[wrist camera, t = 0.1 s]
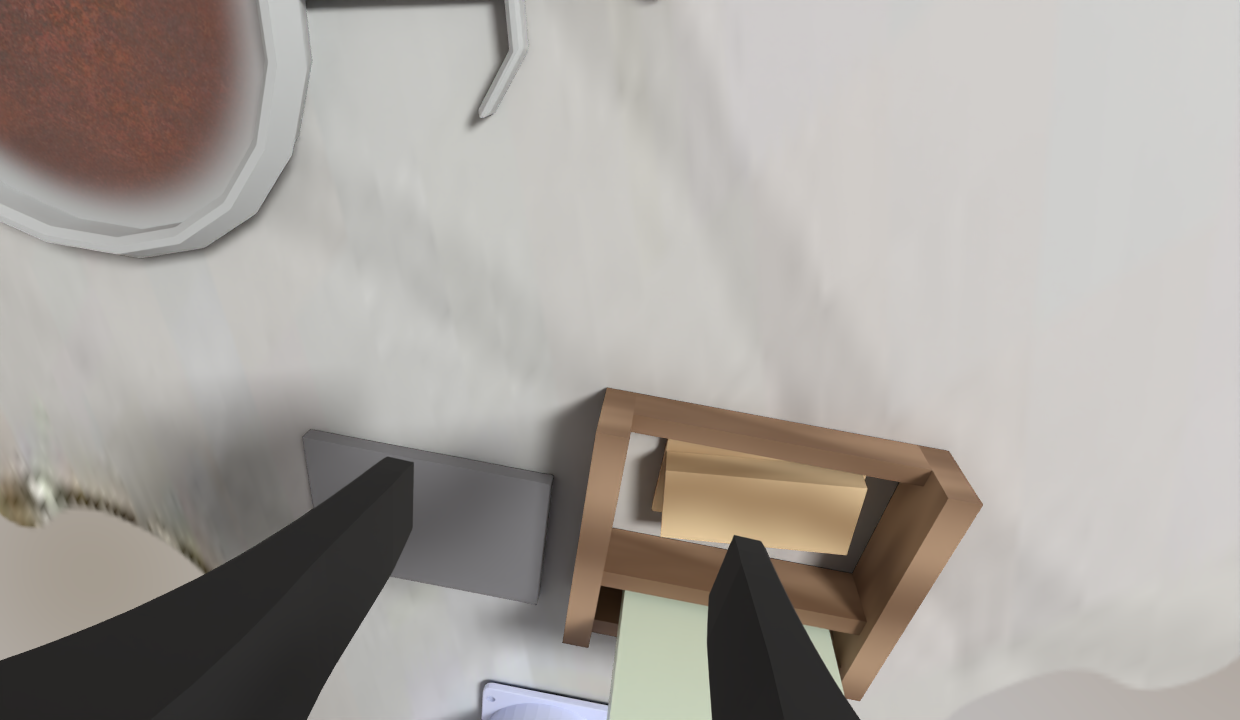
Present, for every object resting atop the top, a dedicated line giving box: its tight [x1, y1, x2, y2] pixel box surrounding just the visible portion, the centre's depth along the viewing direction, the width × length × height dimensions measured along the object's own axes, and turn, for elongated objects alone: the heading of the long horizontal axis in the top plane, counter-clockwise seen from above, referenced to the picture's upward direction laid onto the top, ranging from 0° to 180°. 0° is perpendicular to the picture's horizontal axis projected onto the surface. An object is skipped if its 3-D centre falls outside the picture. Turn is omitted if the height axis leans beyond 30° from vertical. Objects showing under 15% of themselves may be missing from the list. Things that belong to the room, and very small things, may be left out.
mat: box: [302, 429, 553, 605], centre depth 27 cm, size 8×11×1 cm
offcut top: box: [661, 451, 868, 555], centre depth 23 cm, size 4×8×1 cm, turn 89°
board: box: [607, 590, 845, 720], centre depth 23 cm, size 2×9×9 cm, turn 82°
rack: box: [562, 388, 983, 701], centre depth 24 cm, size 12×14×3 cm
